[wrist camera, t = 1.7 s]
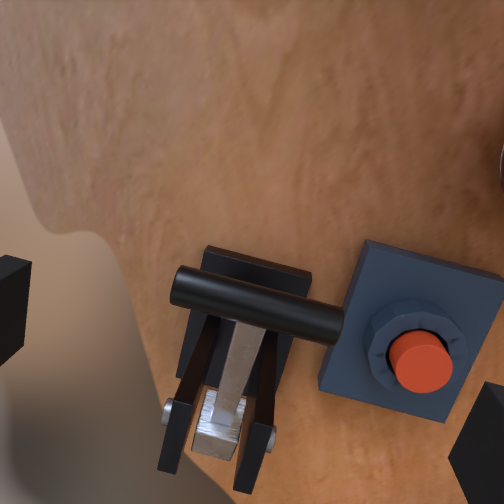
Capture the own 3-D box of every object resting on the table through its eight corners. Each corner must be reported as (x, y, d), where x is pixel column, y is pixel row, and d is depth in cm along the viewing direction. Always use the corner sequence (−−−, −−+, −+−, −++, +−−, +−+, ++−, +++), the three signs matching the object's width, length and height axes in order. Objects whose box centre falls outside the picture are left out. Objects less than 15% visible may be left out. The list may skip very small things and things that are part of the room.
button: (399, 323, 30) (406, 338, 29) (451, 337, 30) (461, 353, 29) (381, 368, 32) (387, 385, 30) (431, 381, 32) (440, 399, 30)
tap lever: (186, 247, 16) (165, 298, 15) (346, 289, 16) (343, 345, 15) (170, 400, 26) (156, 442, 24) (271, 427, 26) (264, 471, 24)
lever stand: (207, 244, 34) (154, 333, 21) (311, 272, 34) (324, 378, 21) (179, 367, 37) (118, 510, 24) (273, 392, 37) (263, 548, 24)
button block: (365, 239, 33) (375, 256, 29) (499, 274, 33) (527, 297, 29) (317, 376, 36) (320, 408, 33) (437, 408, 36) (454, 444, 33)
